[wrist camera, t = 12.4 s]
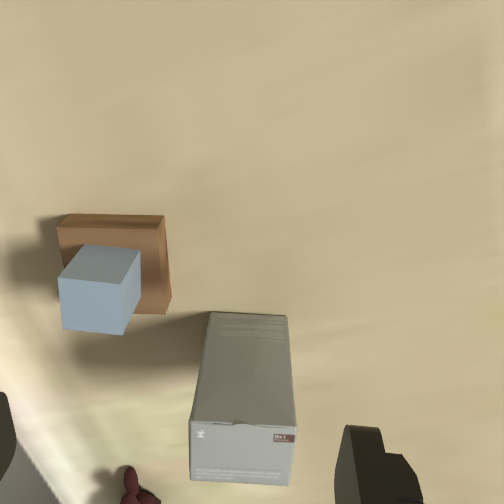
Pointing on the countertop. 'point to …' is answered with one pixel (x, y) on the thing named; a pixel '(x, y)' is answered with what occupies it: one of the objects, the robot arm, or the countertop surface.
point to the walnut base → (125, 236)
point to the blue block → (100, 289)
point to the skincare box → (244, 402)
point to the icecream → (135, 490)
